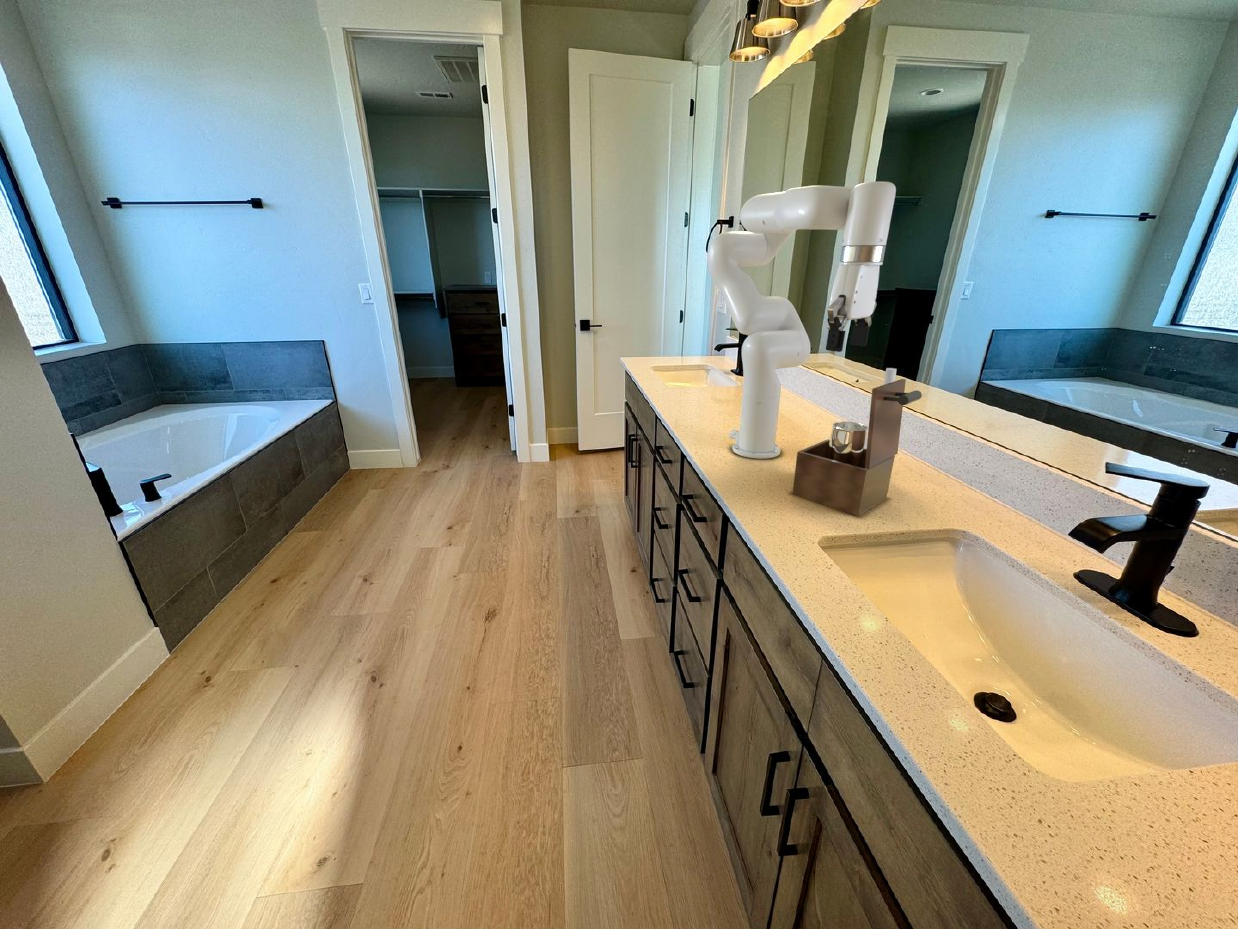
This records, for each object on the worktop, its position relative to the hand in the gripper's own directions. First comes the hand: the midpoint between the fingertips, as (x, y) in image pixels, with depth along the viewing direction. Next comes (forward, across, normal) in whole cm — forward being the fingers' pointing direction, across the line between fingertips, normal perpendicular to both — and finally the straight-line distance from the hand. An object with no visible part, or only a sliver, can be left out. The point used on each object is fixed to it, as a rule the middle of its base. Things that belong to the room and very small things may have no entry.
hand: (846, 348), depth 100 cm
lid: (+13, +3, +11) cm, 17 cm away
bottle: (+31, -15, +4) cm, 35 cm away
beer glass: (+30, +3, +5) cm, 31 cm away
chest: (+31, +3, +5) cm, 31 cm away
